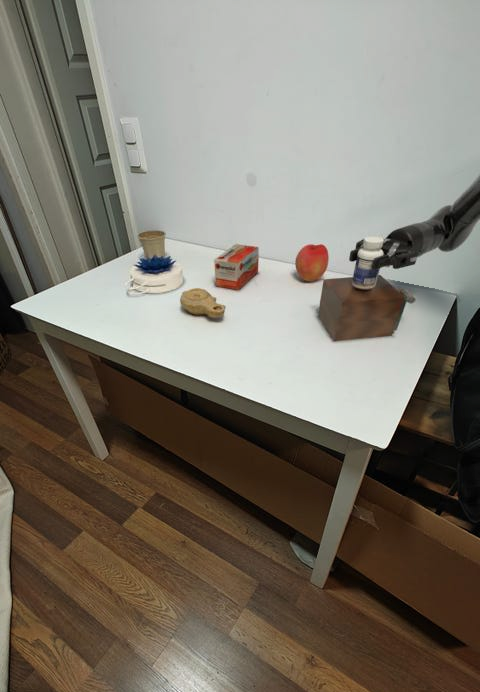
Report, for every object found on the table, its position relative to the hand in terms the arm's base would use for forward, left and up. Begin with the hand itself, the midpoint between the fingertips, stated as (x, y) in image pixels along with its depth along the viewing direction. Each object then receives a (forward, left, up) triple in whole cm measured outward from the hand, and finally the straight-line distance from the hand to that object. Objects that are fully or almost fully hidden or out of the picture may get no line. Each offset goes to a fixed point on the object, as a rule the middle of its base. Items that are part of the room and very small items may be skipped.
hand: (362, 260), depth 74 cm
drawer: (-5, -3, -15) cm, 16 cm away
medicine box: (+32, -25, -16) cm, 44 cm away
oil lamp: (+37, -2, -16) cm, 41 cm away
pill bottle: (-2, -2, -6) cm, 7 cm away
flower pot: (+63, -36, -16) cm, 75 cm away
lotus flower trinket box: (+57, -17, -16) cm, 62 cm away
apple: (+10, -28, -16) cm, 34 cm away
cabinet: (-2, -2, -16) cm, 16 cm away
